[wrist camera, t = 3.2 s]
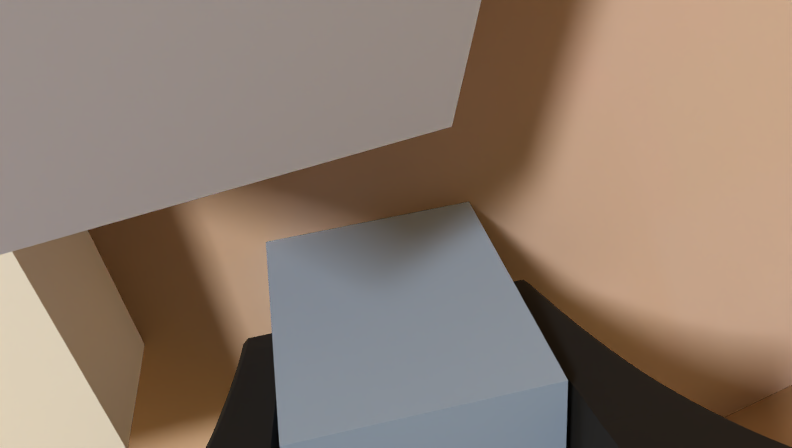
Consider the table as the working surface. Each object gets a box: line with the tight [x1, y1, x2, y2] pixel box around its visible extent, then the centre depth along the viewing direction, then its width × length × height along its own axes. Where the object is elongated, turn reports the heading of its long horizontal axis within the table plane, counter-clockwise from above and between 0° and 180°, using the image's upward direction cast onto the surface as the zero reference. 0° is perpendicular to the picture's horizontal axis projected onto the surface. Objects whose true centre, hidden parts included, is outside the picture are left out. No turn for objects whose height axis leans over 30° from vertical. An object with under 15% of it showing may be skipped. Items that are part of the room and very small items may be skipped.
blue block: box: [266, 202, 568, 448], centre depth 13 cm, size 4×4×5 cm
